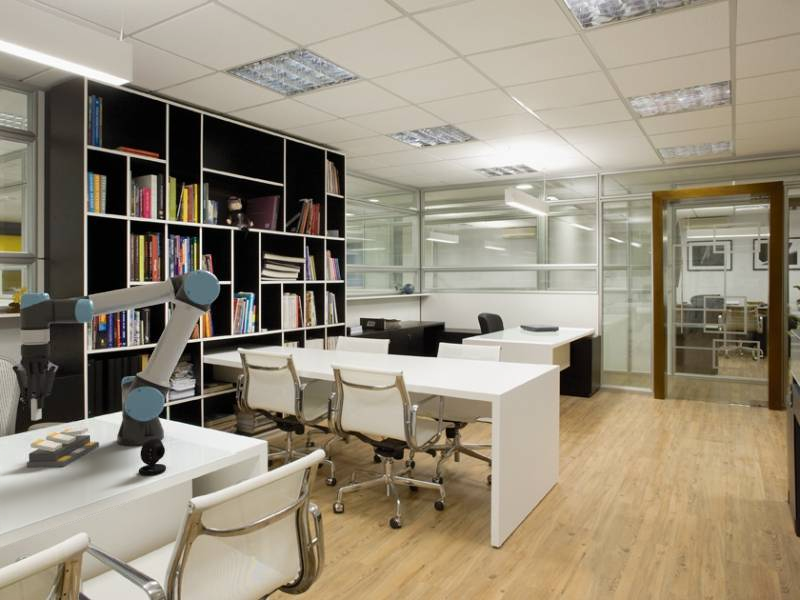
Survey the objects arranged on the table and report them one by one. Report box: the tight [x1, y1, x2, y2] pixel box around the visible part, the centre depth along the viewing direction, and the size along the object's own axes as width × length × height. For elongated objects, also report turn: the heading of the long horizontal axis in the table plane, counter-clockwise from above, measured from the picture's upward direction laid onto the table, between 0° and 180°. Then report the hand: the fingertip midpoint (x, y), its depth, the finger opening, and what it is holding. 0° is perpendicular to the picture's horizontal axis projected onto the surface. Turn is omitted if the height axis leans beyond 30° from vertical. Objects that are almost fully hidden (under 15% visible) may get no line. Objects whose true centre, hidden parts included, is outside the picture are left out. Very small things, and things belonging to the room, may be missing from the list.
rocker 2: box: [45, 431, 76, 444], centre depth 180 cm, size 7×4×1 cm, turn 92°
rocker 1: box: [30, 438, 62, 452], centre depth 172 cm, size 7×4×1 cm, turn 92°
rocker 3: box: [59, 427, 89, 436], centre depth 187 cm, size 7×4×1 cm, turn 92°
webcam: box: [138, 438, 167, 477], centre depth 165 cm, size 8×8×10 cm
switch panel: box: [26, 434, 100, 468], centre depth 180 cm, size 11×21×4 cm, turn 2°
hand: (36, 419), depth 171 cm, fingers closed
